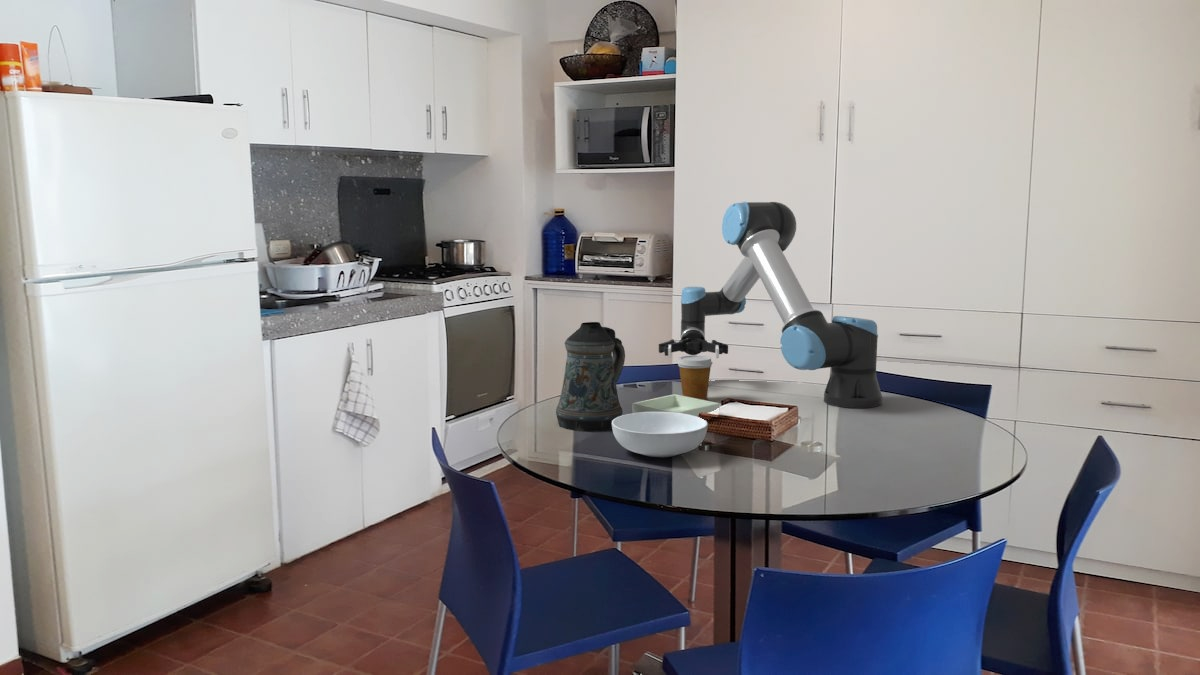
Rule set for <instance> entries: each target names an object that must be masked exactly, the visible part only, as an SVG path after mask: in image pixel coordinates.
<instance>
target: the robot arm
mask: <svg viewBox="0 0 1200 675" xmlns="http://www.w3.org/2000/svg"><path fill="white" fill-rule="evenodd" d="M796 232H797V220H796V216H795V214H794V213H793V211H792V210H791V209H790V207H788V206H787V205H786V204H783V203H781V202H779V201H778V202H777V201H770V202H769V201H768V202H765V201H764V202H763V201H762V202H761V201H759V202H758V201H756V202H755V201H754V202H753V201H751V202H749V201H748V202H747V201H742V202H734V203H732V204H730V206H728V208H727V209H726V210H725V213H724V214H723V217H722V223H721V234H722V237H723V239H724V241H725V242H726V243H727V244H729V245H732V246H737V247H738V249H739V251H740V253H741V255H743V256H744V258H743V259H742V260H741V261H740V263H739V265H738V266H737V267H736V269H735V270H734V271H733V273H732V274H731V276H729V278H728V280H726V283H725V284H724V285H723V286H722V287H721V289H720V290H719V291H708V292H707V291H706V289H705V287H703V286H685V287H683V288H682V290H681V298H680V304H681V307H680V308H681V319H680V320H681V321H680V340H679V341H678V342H677V341H676V340H675V339H670V340H667V341H664V342H661V343H659V344H658V353H659V354H662V353H664V356H665V357H666V356H667V358H668V359H671V358H672V353H676V352H681V353H682V352H683V353H686V354H687V355H688V356H694V355H696V356H698V355H699V354H701V353H705V352H706V353H714V354H715V359H720V355H723V354H725V355H727V354H729V344H726V343H723V342H719V341H717V340H715V339H712V340H711V341H710V342H709V341H707V340H706V337H705V336H706V334H705V332H706V331H705V330H706V328H705V327H706V326H705V325H706V317H710V316H720V315H721V316H722V315H735V314H740V313H741V312H744V310H745V308H746V306H745V305H746V304H747V299H746V296H747V295H748V294H749V292H750V291H751V290H752V289H753V287H754V286H755V285H756V283H757V282H758V280H760V281H761V282H762V284H763V286H764V287H765V290H766V292H767V293H768V295H769V297H770V299H771V301H772V303H773V306H774V307H775V309H776V311H777V313H778V314H779V317H780V319H781V321H782V322H783V324H782V325H783V326H782V329H781V335H780V342H779V343H780V344H781V346H780V350H781V353H782V356H783V358H784V359H785V361H786V362H787V364H789V365H790V366H791V367H792V368H794V369H796V370H801V371H806V370H807V371H815V370H819V369H825V368H830V369H831V372H830V375H829V379H828V381H827V384H826V387H825V389H824V392H823V401H824V402H825V403H826V404H828V405H831V406H834V407H835V406H836V407H842V408H849V409H850V408H853V409H856V408H857V409H866V408H875V407H878V406H881V405H882V404H883V394H882V391H881V387H880V384H879V381H878V377H877V360H878V359H877V358H878V357H877V356H878V338H879V334H878V325H877V323H876V321H874V320H872V319H868V318H860V317H859V318H858V317H852V316H842V315H834V316H833V317H832V319H831V322H828V321H827V320H826V317H825V316H824V314H823V312H822V311H821V310H819V309H814V308H813V305H812V304H811V302H810V300H809V298H808V297H807V295H806V292H805V291H804V289H803V287H802V286H801V284H800V282H799V280H798V278H797V275H796V274H795V272H794V270H793V268H792V266H791V265H790V263H789V261H788V259H787V258H786V256H785V254H784V252H785V251H786V250H787V249H788V248H789V246H790V244H791V243H792V241H793V240H794V238H795V236H796Z"/></svg>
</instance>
